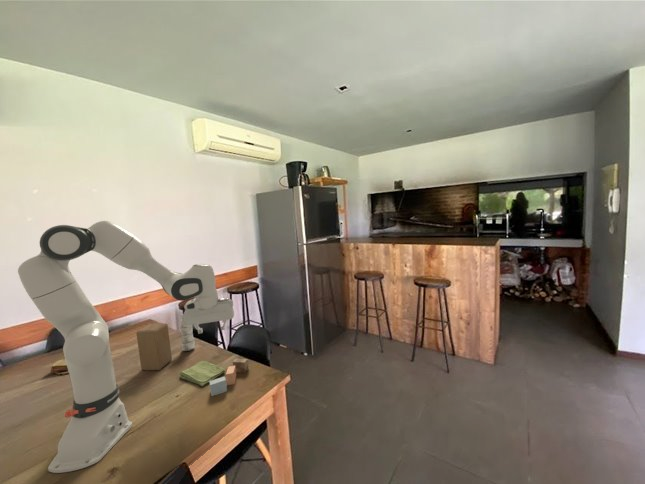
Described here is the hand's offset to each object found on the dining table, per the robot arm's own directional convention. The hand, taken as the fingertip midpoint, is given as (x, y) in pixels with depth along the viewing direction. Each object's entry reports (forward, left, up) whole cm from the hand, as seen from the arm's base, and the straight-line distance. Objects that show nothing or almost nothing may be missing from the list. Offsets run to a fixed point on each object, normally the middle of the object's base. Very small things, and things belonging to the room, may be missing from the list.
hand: (211, 331), depth 120 cm
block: (+20, +33, -23) cm, 45 cm away
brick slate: (-10, -3, -22) cm, 24 cm away
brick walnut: (+4, -10, -22) cm, 25 cm away
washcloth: (+5, +7, -23) cm, 25 cm away
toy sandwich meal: (+29, +78, -23) cm, 86 cm away
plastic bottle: (+33, +22, -22) cm, 46 cm away
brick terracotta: (-3, -7, -22) cm, 23 cm away
